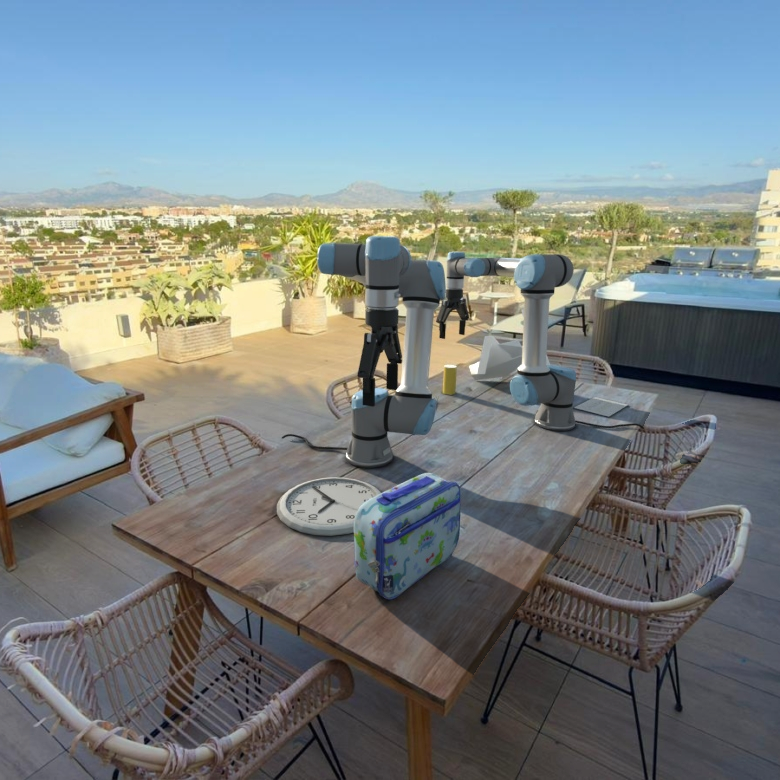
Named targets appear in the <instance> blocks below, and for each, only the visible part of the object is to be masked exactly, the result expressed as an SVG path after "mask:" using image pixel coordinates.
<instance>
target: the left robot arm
mask: <svg viewBox="0 0 780 780" xmlns="http://www.w3.org/2000/svg"><path fill="white" fill-rule="evenodd" d="M316 264H317V269H318V270H319V272H320V273H321V274H323V275H330V276H342V277H344V278H347V279H350V280H352V281H355V282H357V283H360V284H362V285H363V287H365V290H364V291H365V292H364V294H365V296H364V298H365V299H364V305H365V307H366V308H365V312H364V313H365V314H364V315H365V316H364V317H365V320H364V321H365V324H366V326H369V327H370V332H364V335H363V345H362V350H361V355H360V360H359V364H358V370H357V377H358V378H360V379H362V389H360V390H358V391H357V392H355V393H354V394H353V395H352V397H351V406H350V410H351V411H350V412H351V413H350V414H351V436H350V439H349V442H348V443H349V444H348V446H347V447H341V446H340V447H339V446H338V447H337V446H317V445H313V444H310V442H309V440H308V439H307V437H304V436H302V435H298V434H294V433H288V434H284V435H283V436H281V439H282V440H283V439H285V438H287V437H294V438H298V439H301V440H303V441H305V443H306V445H307V446H308V447H310V448H313V449H316V450H339V451H346V453H345V458H346V459H345V460H346V461H347V462H348V464H350V465H352V466H355V467H358V468H364V469H375V468H376V469H377V468H381V467H384V466H387V465H389V464H390V463H392V461H393V457H394V455H393V449H392V447H391V443H390V440H389V436H388V433H397V434H404V435H405V434H407V435H412V436H426V435H429V433H430V432H431V430H432V426H433V424H434V420H435V417H436V411H437V403H438V401H437V399H436V398H435V399H436V400H435V399H434V398H433V392H432V391H431V390H430V388H429V379H430V378H429V377H430V367H431V366H430V365H431V354H432V344H433V343H432V342H433V329H434V327H433V326H434V319H435V318H434V317H435V311H436V310H437V309H438V308H440V306H441V305H440V303H441V301H445V299H446V289H447V287H446V274H445V273H446V272H445V268H444V265H443V264H442V263H441V262H440V261H436V260H429V259H412V255H411V252H410V251H409V250H408V248H407V247H405V246H404V245H402V244H401V241H400V238H399V237H397V236H387V235H386V236H385V235H384V236H381V235H380V236H379V235H378V236H376V235H374V236H373V235H371V236H368V237H367V238H366V240H365V243H344V242H323V243H322V244H320V246H319V247H318V249H317V255H316ZM401 298H402V301H401V303H402V305H403V306H404V307H405V309H406V314H405V325H404V338H403V351H402V348H401V343H400V337H399V314H400V313H399V309H398V306H399V299H401ZM383 352H384V353H385V357H386V359H387V363H386V382H385V383H386V388H383V387H376V377H374V376H375V373H376V369H377V366H378V362H379V359H380V356H381V353H383ZM399 364H400V365H401V377H400V385H399V384H398V383H399V381H398V380H399ZM389 390H391V391H394V392H395V393H394V395H391V394H390V393H389Z"/></svg>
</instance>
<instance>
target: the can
mask: <svg viewBox="0 0 780 780" xmlns="http://www.w3.org/2000/svg"><path fill="white" fill-rule="evenodd" d="M457 370H458V366H457V365H455V364H444V365H443V380H442V394H444V395H449V396H452V395H455V394H456V389H457V387H456V386H457Z"/></svg>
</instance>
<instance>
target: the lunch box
mask: <svg viewBox="0 0 780 780" xmlns="http://www.w3.org/2000/svg"><path fill="white" fill-rule="evenodd" d="M461 503H462V502H461V487H460V485H459V483H457V482H455V481H448V480H446V479H445V478H442V477H440V476H439V475H437V474H434V473H432V472H424V473H422V474H419V475H416V476H415V477H412V478H409V479H407V480H406V481H404V482H402V483H399V484H398V485H395V486H394V487H391V488H389V489H387V490H385V491H383V492H382V493H381V494H379V495H377V496H375V497H373V498H371V499H369V500H367V501H365V502H364V503H363V504H362V505H361V506H360V508H359V509H358V511H357V513H356V515H355V519H354V532H353V546H354V547H353V548H354V571H355V572H354V573H355V576H356V579H357V580H358V581H359V582H360V583H363V584H364V585H367V586H368V587H370V588H372V589H373V590H374V591H376V592H378V594H379V595H380V596H381V597H382V598H384V599H386V600H394V599H396V598H398V597H399V596H400V595H402V594H403V593H404V592H405V591H406V590H407V589H409V588H410V587H412V586H413V585H414V584H416V583H417V582H418V581H420V580H421V579H422V578H424V577H425V576H426V575H427V574H428V573H429V572H430V571H432V570H433V569H435V568H437V567H438V566H439V565H441V564H443V563H444V562H445V561H447V560H448V559H449V558H451V556H452V555H453V554H454V552H455V550H456V549H457V546H458V543H459V539H460V531H461V510H462V509H461V508H462V507H461Z"/></svg>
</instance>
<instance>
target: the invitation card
mask: <svg viewBox="0 0 780 780" xmlns="http://www.w3.org/2000/svg"><path fill="white" fill-rule="evenodd" d="M628 406H629V404H627V403H623V402H618V401H614V400H609V399H605V398H601V397H596V396H593V397H592V398H590V399H588V400H586V401H584V402H582V403H580V404H578V405H575V406H574V407H573V409H575V410H581V411H584V412H587V413H593V414H596V415H600V416H604V417H608V418H609V417H611V416H613V415H614V414H616V413H617V412H619V411H621V410H623V409H624V408H626V407H628Z"/></svg>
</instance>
